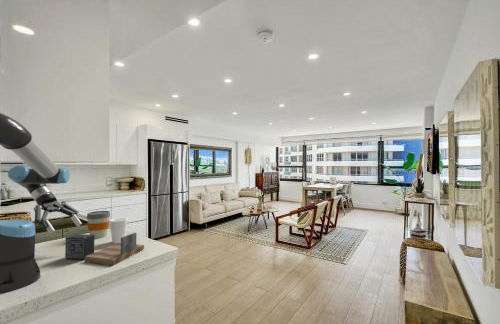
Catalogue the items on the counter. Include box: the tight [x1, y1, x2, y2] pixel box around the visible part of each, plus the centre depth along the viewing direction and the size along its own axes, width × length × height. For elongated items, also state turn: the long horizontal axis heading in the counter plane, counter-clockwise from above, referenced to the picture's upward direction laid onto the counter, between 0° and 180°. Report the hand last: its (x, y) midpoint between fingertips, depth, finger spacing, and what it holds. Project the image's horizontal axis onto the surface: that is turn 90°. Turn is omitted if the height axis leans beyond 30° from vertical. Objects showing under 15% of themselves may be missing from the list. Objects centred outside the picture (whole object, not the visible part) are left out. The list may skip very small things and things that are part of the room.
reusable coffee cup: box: [86, 210, 111, 240], centre depth 148 cm, size 13×12×15 cm
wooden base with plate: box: [84, 232, 145, 266], centre depth 116 cm, size 20×16×10 cm
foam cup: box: [109, 217, 129, 245], centre depth 137 cm, size 10×9×13 cm
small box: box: [64, 233, 95, 261], centre depth 114 cm, size 11×6×10 cm, turn 84°
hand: (67, 228), depth 117 cm, fingers open, 13 cm apart
